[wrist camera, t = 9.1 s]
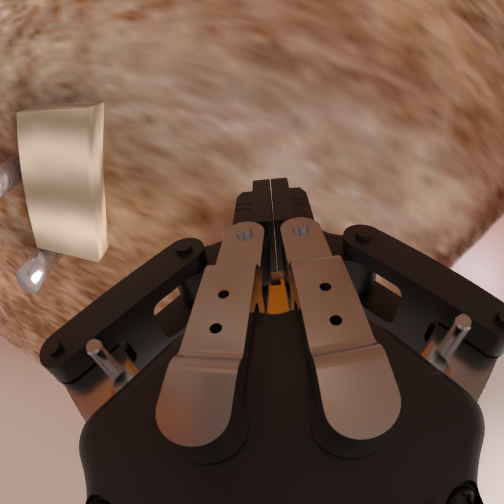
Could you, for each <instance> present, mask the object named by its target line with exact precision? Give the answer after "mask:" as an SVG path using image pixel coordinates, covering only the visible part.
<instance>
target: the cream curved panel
mask: <svg viewBox="0 0 504 504" xmlns="http://www.w3.org/2000/svg"><path fill="white" fill-rule="evenodd" d="M103 119H104V102H83V103H61V104H47V105H36V106H32V107H30V108H27V109H24V110H22V111H19V112H17V135H18V147H19V157H20V166H21V173H22V180H23V186H24V192H25V197H26V203H27V208H28V212H29V217H30V221H31V225H32V229H33V233H34V237H35V241H36V245H37V248H41V249H45V250H49V251H53V252H57V253H61V254H65V255H69V256H74V257H78V258H82V259H86V260H91V261H95V262H99V261H100V259H101V258H102V256H103V255H104V253H105V252H106V250H107V249H108V247H109V240H108V231H107V221H106V210H105V196H104V176H103Z"/></svg>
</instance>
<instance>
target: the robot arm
mask: <svg viewBox="0 0 504 504" xmlns="http://www.w3.org/2000/svg"><path fill="white" fill-rule="evenodd" d="M271 189H272V200H271V190H270V181H269V179H266V180H256V181H253V191H251V192H242V193H241V194H240V195H239V196H238V198H237V200H236V207H235V213H234V220H233V226H231V227H229V228H228V229H227V230H226V232H225V235H224V238H223V241H221V242H219V243H216V244H213V245H210V246H206V247H204V245H203V243H202V241H200V240H199V239H196V238H185V239H181V240H178V241H176V242H174V243H173V244H171V245H170V246H168V247H167V248H166V249H164V250H163V251H161V252H160V253H158V254H157V255H156V256H154V257H153V258H151V259H150V260H149V261H147V262H146V263H145V264H143V265H142V266H140V267H139V268H138V269H136V270H135V271H134V272H132V273H131V274H129V275H128V276H127V277H125V278H124V279H123V280H121V281H120V282H119V283H117V284H116V285H115V286H113V287H112V288H111V289H109V290H108V291H107V292H105V293H104V294H103V295H101V296H100V297H99V298H98V299H96V300H95V301H94V302H92V303H91V304H90V305H88V306H87V307H86V308H85V309H83V310H82V311H81V312H80V313H78V314H77V315H76V316H75V317H73V318H72V319H71V320H69V321H68V322H67V323H66V324H65V325H63V326H62V327H61V328H60V329H58V330H57V331H56V332H55V333H54V334H52V335H51V336H50V337H49V338H48V339H47V340H46V341H45V342H44V344H43V346H42V348H41V350H40V362H41V364H42V365H43V366H44V367H45V368H46V369H47V370H48V371H49V372H50V373H52V374H53V375H54V376H55V377H56V379H57V380H58V381H59V382H60V383H61V384H62V385H63V386H65V387H66V389H67V391H68V392H69V394H70V396H71V398H72V400H73V401H74V403H75V405H76V406H77V408H78V410H79V412H80V413H81V415H82V416H83V418H84V420H85V421H86V423H85V425H84V427H83V429H82V432H81V436H80V441H79V450H80V451H79V452H80V457H81V462H82V466H83V469H84V474H85V480H86V489H87V500H86V504H483V502H482V499H481V497H480V494H479V491H478V487H477V473H478V464H479V458H480V452H481V448H482V444H483V438H484V429H485V425H484V418H483V414H482V411H481V408H480V406H479V404H478V403H477V401H478V399H479V397H480V395H481V393H482V391H483V389H484V387H485V385H486V383H487V381H488V379H489V377H490V374H491V372H492V370H493V368H494V365H495V363H496V361H497V360H498V359H499V358H500V357H501V356H502V354H503V353H504V303H503V302H502V301H500V300H499V299H497V298H496V297H494V296H493V295H491V294H490V293H488V292H487V291H485V290H483V289H482V288H480V287H479V286H477V285H476V284H474V283H472V282H471V281H469V280H468V279H466V278H464V277H463V276H461V275H459V274H458V273H456V272H454V271H453V270H451V269H449V268H448V267H446V266H444V265H442V264H441V263H439V262H437V261H435V260H434V259H432V258H430V257H428V256H427V255H425V254H423V253H421V252H419V251H418V250H416V249H414V248H412V247H410V246H408V245H406V244H405V243H403V242H401V241H399V240H397V239H395V238H393V237H391V236H389V235H387V234H385V233H384V232H382V231H380V230H378V229H376V228H374V227H371V226H368V225H353V226H350V227H348V228H347V229H346V230H345V231H344V233H343V235H335V234H330V233H327V232H324V231H322V230H321V227H320V225H319V224H318V223H317V222H316V221H315V220H314V217H313V214H312V211H311V207H310V205H309V201H308V197H307V194H306V192H305V191H304V190H302V189H301V188H300V187H298V188H289V186H288V181H287V178H277V179H271ZM272 202H273V210H272ZM273 217H274V221H273ZM274 228H275V237H274ZM275 239H276V250H277V262H278V271H283V273H284V287H285V293H286V298H287V304H288V309H289V311H287V312H284V313H280V314H269V303H270V290H271V286H270V281H271V272H277V270H276V253H275ZM376 274H378V275H380V276H381V277H383V278H384V279H386V280H388V281H389V282H391V283H393V284H394V285H396V286H397V287H398V288H399V290H400V291H401V294H402V298H401V297H400V296H398V295H397V294H395V293H394V292H392V291H390V290H389V289H387V288H386V287H384V286H383V285H381V284H379V283H378V282H376V281H375V279H376ZM177 287H178V289H179V292H180V294H181V295H180V296H178V297H177V298H176V299H175V300H173V301H172V302H171V303H170V304H169V305H167V306H166V307H165V308H164V309H162V310H161V311H160V312H159V313H158V314H156V315H154V308H155V306H156V304H157V303H158V302H159V301H160V300H162V299H163V298H164V297H165V296H167V295H168V294H169V293H170V292H172V291H173V290H174V289H175V288H177Z"/></svg>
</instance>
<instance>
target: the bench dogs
mask: <svg viewBox="0 0 504 504" xmlns="http://www.w3.org/2000/svg"><path fill="white" fill-rule="evenodd" d="M22 181H23V180H22V173H21V166H20V157H19V153H16V154H14V155H13V156H11V157H9V158H8V159H6V160H4V161H3V162H1V163H0V198H1V197H3V196H4V195H5V194H6V193H8V192H9V191H10V190H11V189H13V188H14V187H15V186H17V185H18V184H19V183H21V182H22ZM63 255H64V254H61V253H57V252H53V251H49V250H45V249H41V248H36V249H35V250H34V251H33V253H32V254H31V255H30V256H29V257H28V259H27V260H26V261H25V262H24V264H23V265H22V266H21V267H20V269H19V270H18V271H17V272H16V278H17V281H18V282H19V284H20V285H21V286H22V288H23V289H25V290H26V291H27V292H29V293H32V294H35V293H37V291H38V290H39V288H40V287H41V285H42V284H43V282H44V281H45V280H46V278H47V277H48V275H49V274H50V273H51V271H52V270H53V268H54V267H55V266H56V264H57V263H58V262H59V260H60V259H61V258H62V256H63Z"/></svg>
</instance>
